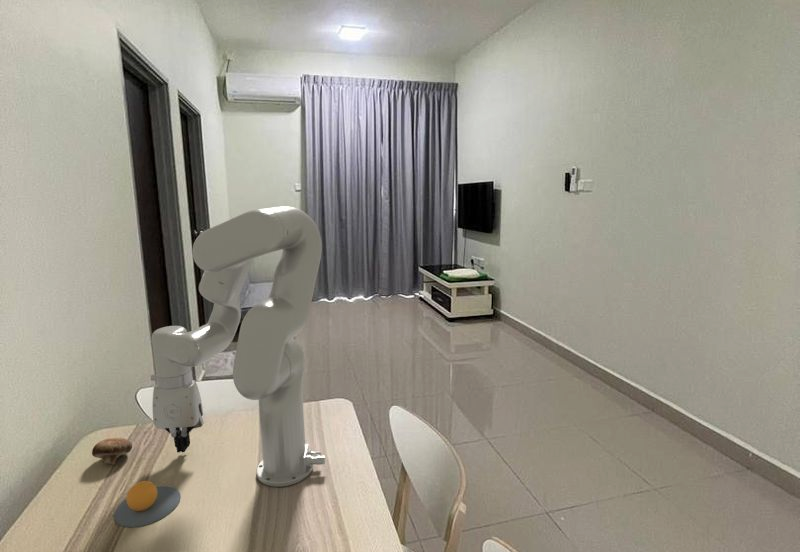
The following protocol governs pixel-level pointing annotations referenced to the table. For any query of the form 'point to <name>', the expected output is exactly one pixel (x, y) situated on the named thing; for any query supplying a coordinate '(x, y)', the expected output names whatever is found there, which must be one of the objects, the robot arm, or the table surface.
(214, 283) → the robot arm
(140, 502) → the ball
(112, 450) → the mushroom
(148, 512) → the disc
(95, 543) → the table surface
